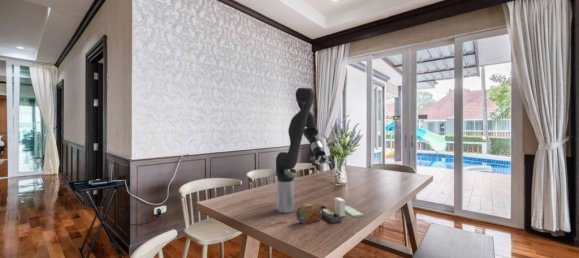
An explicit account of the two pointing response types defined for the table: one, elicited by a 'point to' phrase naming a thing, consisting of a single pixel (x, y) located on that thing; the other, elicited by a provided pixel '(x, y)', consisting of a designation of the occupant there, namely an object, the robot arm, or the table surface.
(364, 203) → the table surface
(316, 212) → the tin
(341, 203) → the white rectangular block
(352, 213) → the board
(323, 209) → the offcut stack
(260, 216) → the table surface
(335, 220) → the frame
